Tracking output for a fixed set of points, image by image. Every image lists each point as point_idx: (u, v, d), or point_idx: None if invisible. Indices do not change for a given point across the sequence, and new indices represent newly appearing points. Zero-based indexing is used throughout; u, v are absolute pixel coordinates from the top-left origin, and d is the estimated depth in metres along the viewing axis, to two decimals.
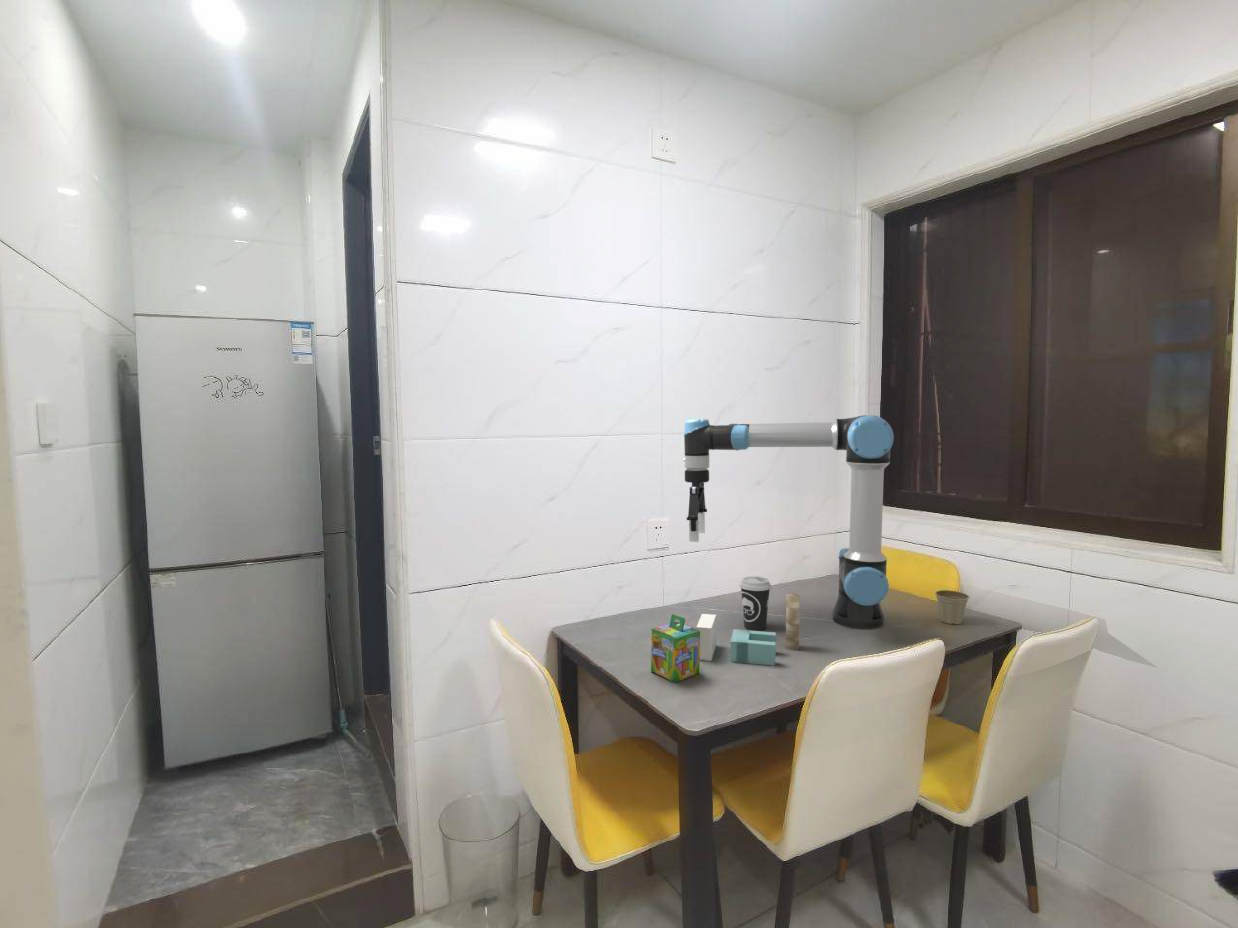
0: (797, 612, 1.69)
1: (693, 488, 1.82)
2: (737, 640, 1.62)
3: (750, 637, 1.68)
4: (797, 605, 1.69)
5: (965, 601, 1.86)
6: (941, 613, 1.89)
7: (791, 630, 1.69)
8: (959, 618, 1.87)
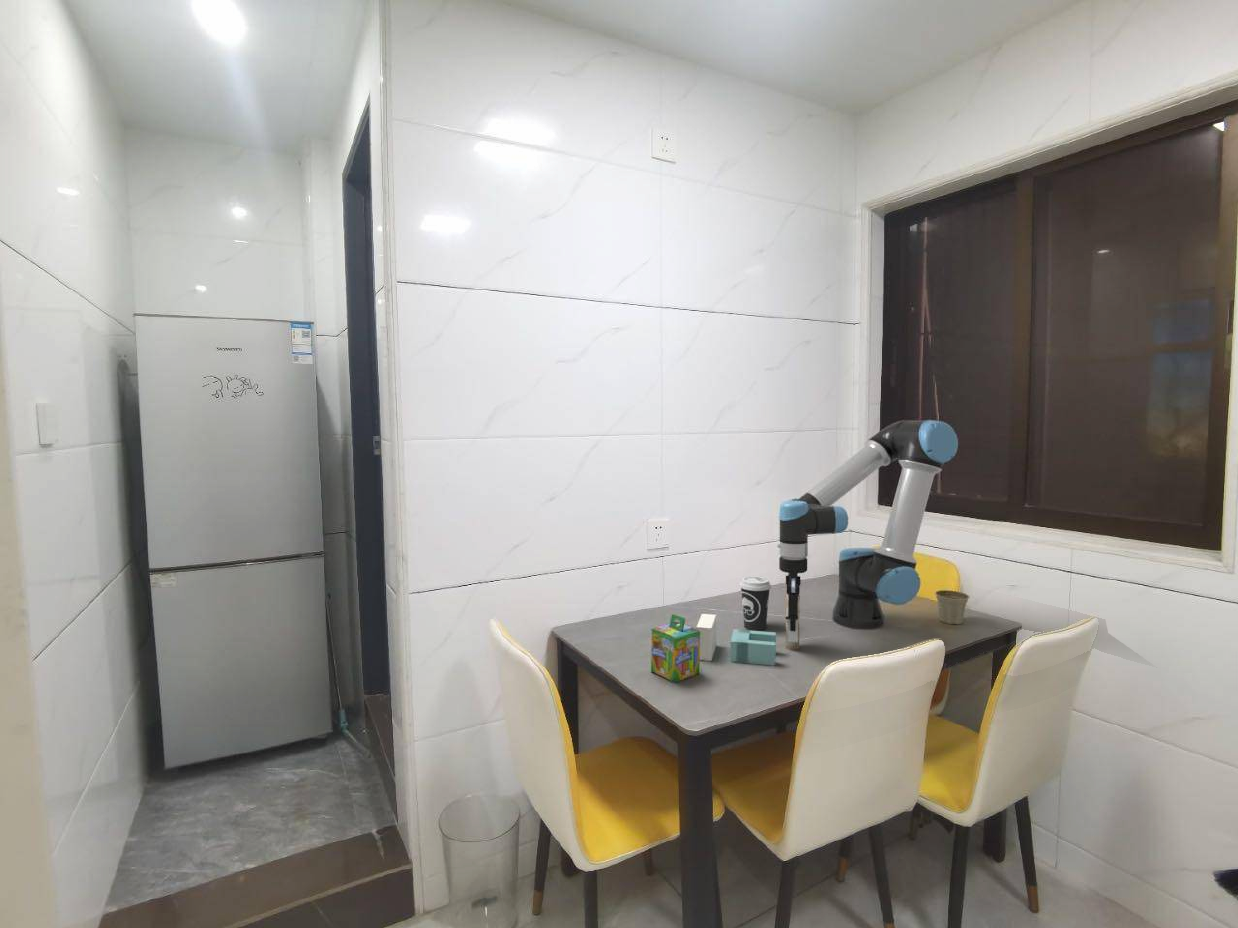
0: None
1: (792, 588, 1.63)
2: (737, 640, 1.62)
3: (750, 637, 1.68)
4: None
5: (965, 601, 1.86)
6: (941, 613, 1.89)
7: None
8: (959, 618, 1.87)
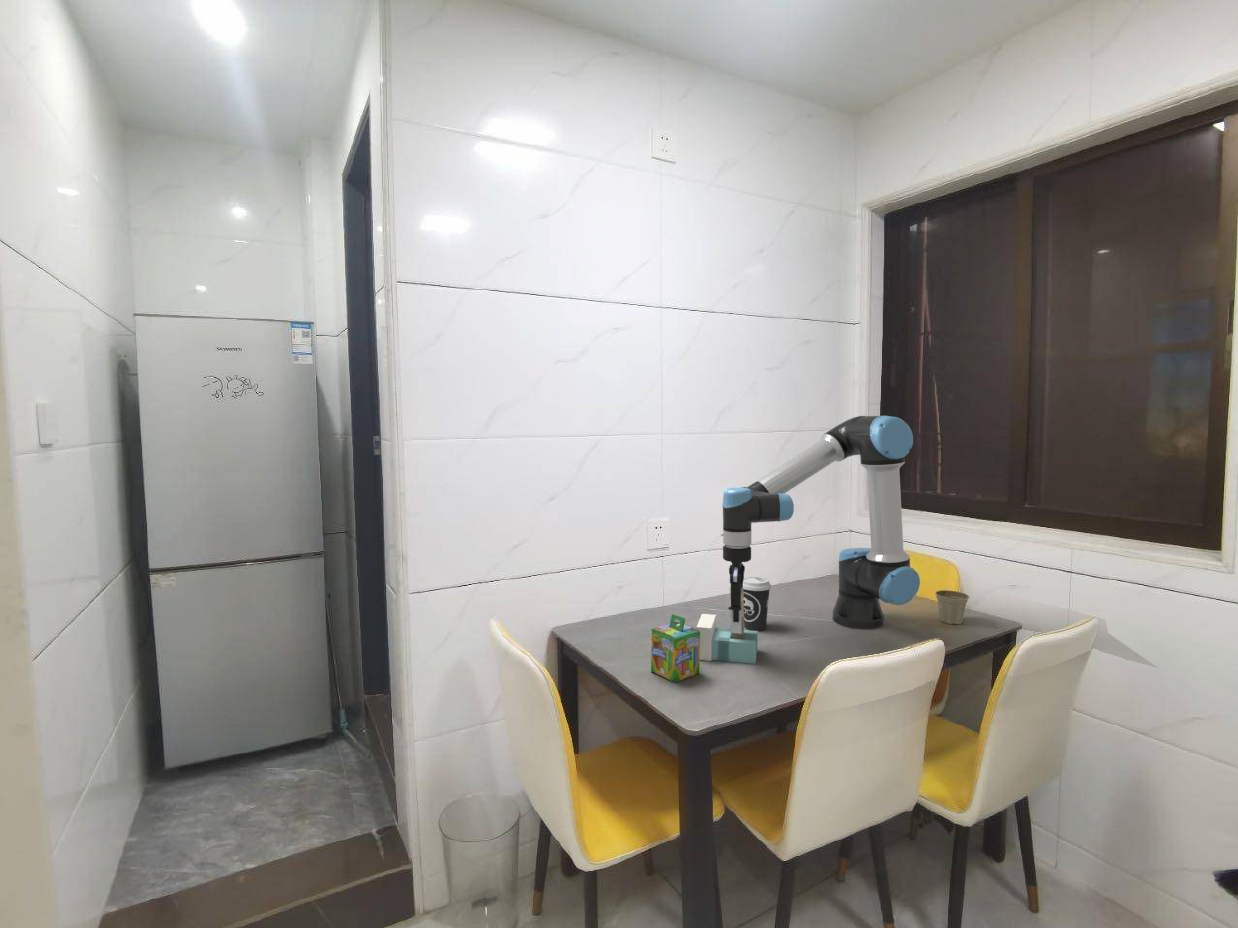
0: (741, 605, 1.64)
1: (734, 577, 1.58)
2: (718, 638, 1.64)
3: None
4: None
5: (965, 601, 1.86)
6: (941, 613, 1.89)
7: None
8: (959, 618, 1.87)
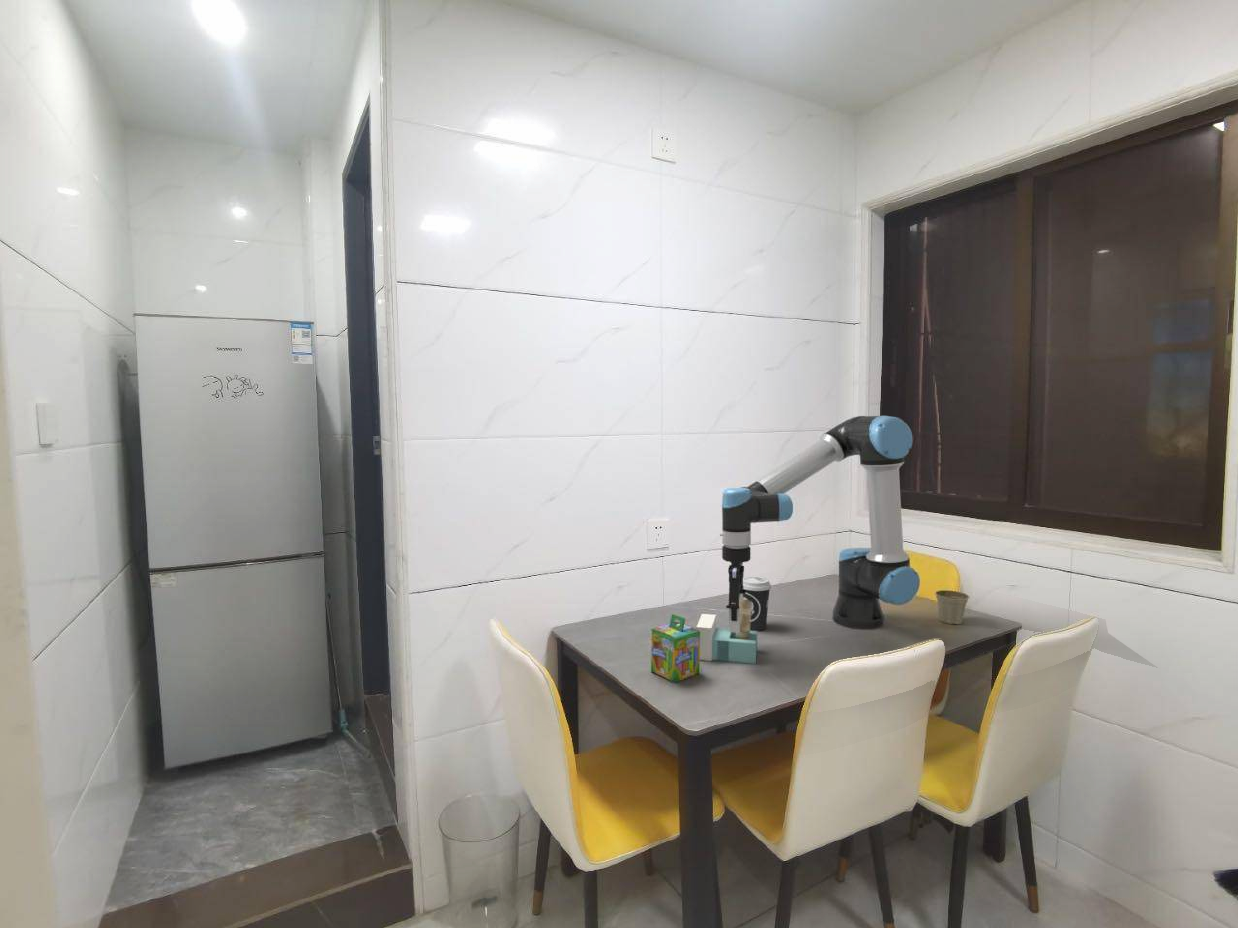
0: (748, 619, 1.64)
1: (733, 571, 1.58)
2: (718, 638, 1.64)
3: (732, 635, 1.69)
4: (748, 612, 1.64)
5: (965, 601, 1.86)
6: (941, 613, 1.89)
7: (740, 637, 1.64)
8: (959, 618, 1.87)
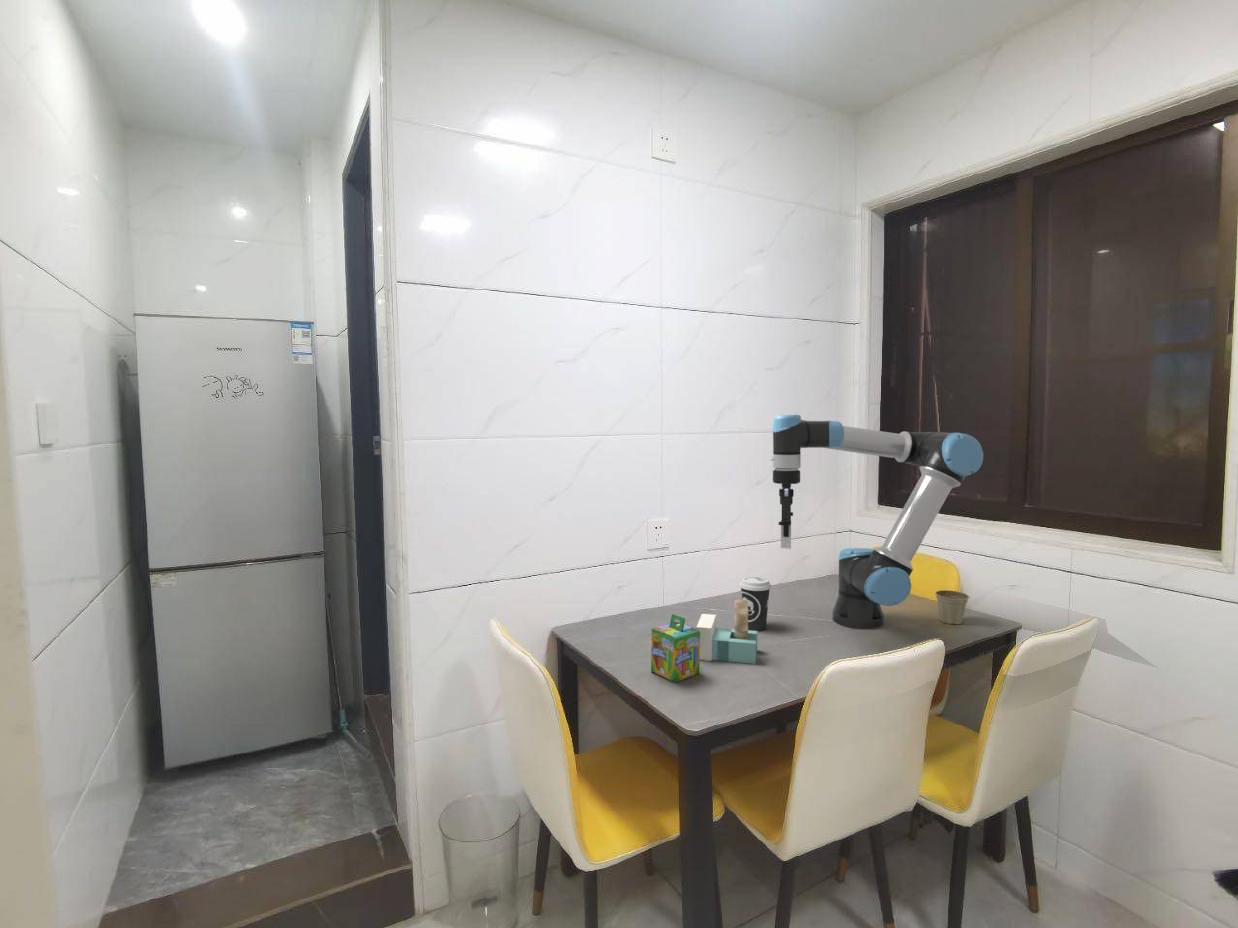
0: (745, 619, 1.64)
1: (786, 490, 1.66)
2: (718, 638, 1.64)
3: (732, 635, 1.69)
4: (745, 611, 1.64)
5: (965, 601, 1.86)
6: (941, 613, 1.89)
7: (739, 637, 1.64)
8: (959, 618, 1.87)
